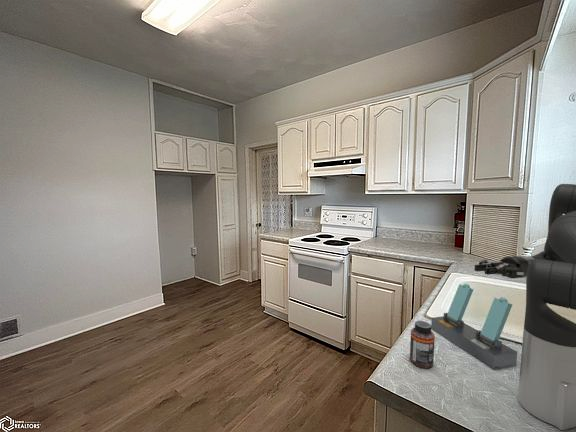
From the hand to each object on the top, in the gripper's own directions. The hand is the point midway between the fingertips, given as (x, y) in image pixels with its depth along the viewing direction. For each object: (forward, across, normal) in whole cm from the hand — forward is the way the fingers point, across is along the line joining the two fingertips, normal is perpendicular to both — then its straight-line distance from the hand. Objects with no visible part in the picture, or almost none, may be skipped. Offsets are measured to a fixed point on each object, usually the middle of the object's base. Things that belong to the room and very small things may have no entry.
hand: (480, 269), depth 88 cm
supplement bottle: (+31, +10, +22) cm, 40 cm away
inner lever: (+10, +12, +17) cm, 23 cm away
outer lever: (+10, 0, +17) cm, 20 cm away
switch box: (+10, +6, +22) cm, 25 cm away
